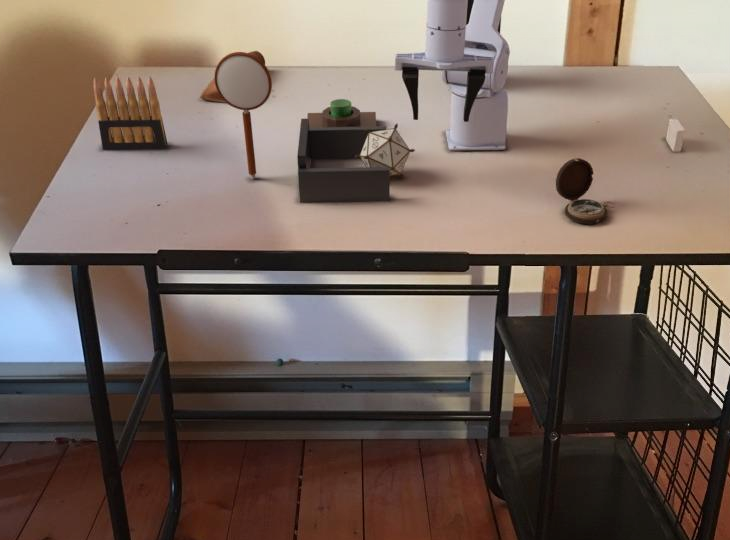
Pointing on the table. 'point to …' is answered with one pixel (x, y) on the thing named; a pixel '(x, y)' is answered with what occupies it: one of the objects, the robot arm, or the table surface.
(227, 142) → the table surface
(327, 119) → the box
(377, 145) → the game die
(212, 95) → the sunglasses case
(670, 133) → the eraser
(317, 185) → the cubby
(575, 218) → the compass
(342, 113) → the button
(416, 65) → the robot arm
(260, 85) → the magnifying glass
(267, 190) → the table surface
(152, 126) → the ammunition clip
